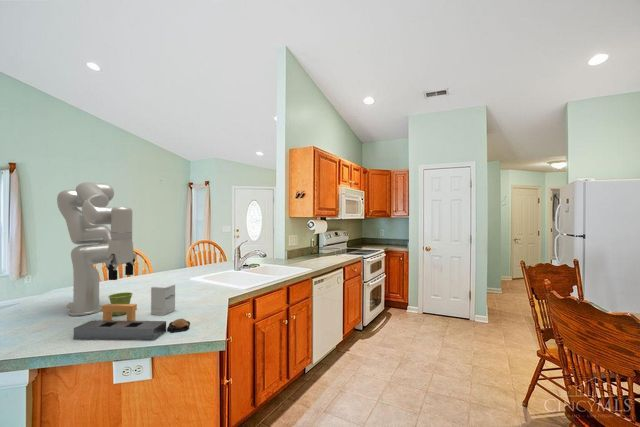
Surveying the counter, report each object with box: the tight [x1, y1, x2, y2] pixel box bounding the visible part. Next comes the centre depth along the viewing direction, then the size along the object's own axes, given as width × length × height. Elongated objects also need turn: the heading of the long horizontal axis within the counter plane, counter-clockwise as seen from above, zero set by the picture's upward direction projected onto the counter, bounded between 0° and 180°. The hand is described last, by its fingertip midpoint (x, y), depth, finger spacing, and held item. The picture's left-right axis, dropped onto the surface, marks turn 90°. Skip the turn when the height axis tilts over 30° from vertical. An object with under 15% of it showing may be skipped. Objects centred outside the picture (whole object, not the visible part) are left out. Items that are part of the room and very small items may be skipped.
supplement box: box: [150, 283, 176, 316], centre depth 135 cm, size 7×7×13 cm
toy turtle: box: [166, 318, 191, 334], centre depth 117 cm, size 11×8×4 cm
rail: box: [73, 319, 167, 341], centre depth 109 cm, size 30×8×4 cm, turn 88°
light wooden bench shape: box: [101, 303, 138, 321], centre depth 120 cm, size 13×3×8 cm, turn 88°
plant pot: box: [107, 291, 133, 316], centre depth 134 cm, size 9×9×9 cm
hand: (121, 277), depth 121 cm, fingers open, 9 cm apart
